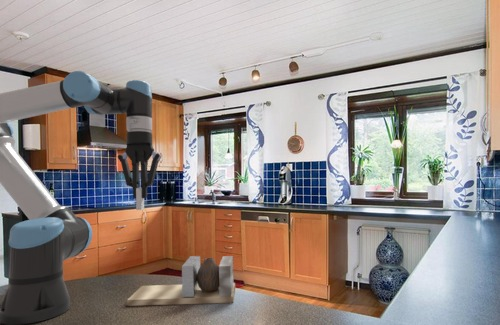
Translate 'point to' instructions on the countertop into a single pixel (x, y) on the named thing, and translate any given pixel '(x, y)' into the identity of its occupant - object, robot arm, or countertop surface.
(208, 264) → the vase
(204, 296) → the vise
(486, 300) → the countertop surface
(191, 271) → the block
